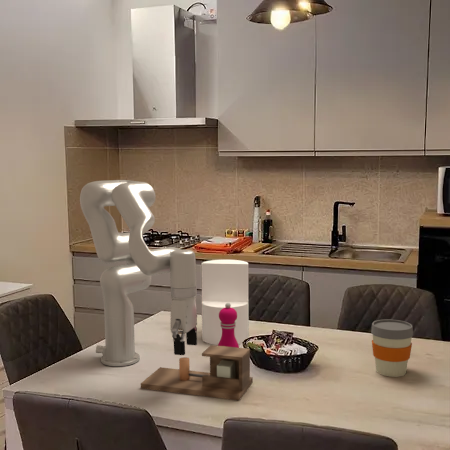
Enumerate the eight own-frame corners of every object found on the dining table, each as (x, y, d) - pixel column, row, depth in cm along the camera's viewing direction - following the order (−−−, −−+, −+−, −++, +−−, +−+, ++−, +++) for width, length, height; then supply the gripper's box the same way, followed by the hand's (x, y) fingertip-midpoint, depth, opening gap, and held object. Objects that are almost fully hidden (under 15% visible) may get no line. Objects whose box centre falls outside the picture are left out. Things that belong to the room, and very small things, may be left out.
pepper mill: (237, 367, 193) (236, 306, 190) (215, 365, 194) (214, 305, 192) (241, 359, 200) (240, 300, 197) (219, 358, 201) (219, 299, 199)
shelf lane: (140, 388, 176) (139, 350, 175) (160, 371, 189) (159, 336, 188) (239, 400, 167) (239, 361, 165) (252, 382, 180) (252, 345, 179)
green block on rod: (176, 381, 177) (176, 361, 176) (183, 375, 182) (182, 355, 181) (230, 387, 172) (230, 367, 171) (235, 381, 177) (235, 361, 176)
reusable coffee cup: (414, 367, 191) (416, 321, 189) (408, 381, 180) (410, 332, 178) (374, 362, 196) (375, 317, 195) (366, 375, 185) (367, 327, 183)
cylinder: (206, 330, 233) (205, 259, 230) (250, 332, 231) (250, 259, 227) (198, 344, 216) (197, 267, 213) (246, 346, 214) (245, 268, 210)
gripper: (182, 286, 185) (184, 340, 187) (159, 298, 169) (162, 357, 170) (205, 286, 183) (207, 342, 184) (184, 299, 166) (187, 359, 168)
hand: (185, 349), depth 177 cm, fingers open, 9 cm apart
